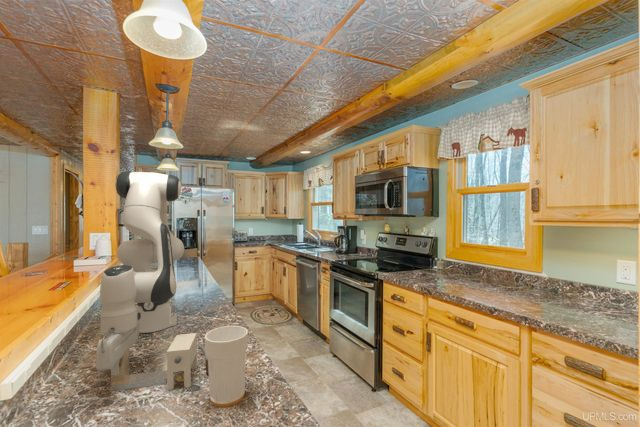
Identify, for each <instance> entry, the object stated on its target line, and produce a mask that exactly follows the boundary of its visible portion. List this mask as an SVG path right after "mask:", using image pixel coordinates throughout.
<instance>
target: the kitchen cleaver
mask: <svg viewBox="0 0 640 427" xmlns="http://www.w3.org/2000/svg"><path fill="white" fill-rule="evenodd" d="M198 349H200V350H201V351H202V353H203V352H204V353H203V355H204V360H205V375H206V376H207V377H209V371H208V356H207V355H206V353H205V343H201V344H199V345H198Z"/></svg>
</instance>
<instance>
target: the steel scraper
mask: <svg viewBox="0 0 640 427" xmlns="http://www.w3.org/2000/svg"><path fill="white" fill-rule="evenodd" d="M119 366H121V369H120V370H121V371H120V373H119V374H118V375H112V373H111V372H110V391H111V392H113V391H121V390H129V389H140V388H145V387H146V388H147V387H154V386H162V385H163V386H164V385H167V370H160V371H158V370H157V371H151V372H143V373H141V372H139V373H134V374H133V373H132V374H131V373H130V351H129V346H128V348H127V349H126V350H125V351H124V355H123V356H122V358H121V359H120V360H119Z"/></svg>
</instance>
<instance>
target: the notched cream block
mask: <svg viewBox="0 0 640 427" xmlns="http://www.w3.org/2000/svg"><path fill="white" fill-rule="evenodd" d="M197 368H198V332H193V333H192V332H191V333H183V334H182V333H181V334H177V335H176V336H175V337H174V339H173V341H172V342H171V344H170V345H169V347H168V348H167V350H166V371H167V384H166V387H167V388H166V390H167V391H171V390H174V389H175V373H176V372H183V373H184V381H183V388H184V389H186V388H187V389H188V388H191V385H192V373H191V370H197Z"/></svg>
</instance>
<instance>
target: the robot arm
mask: <svg viewBox="0 0 640 427" xmlns="http://www.w3.org/2000/svg"><path fill="white" fill-rule="evenodd" d="M114 187H115V190H116V194H117V195H118V196H119V197H120V198H123V199H125V200H124V205H123V212H122V223H123V226H124V227H125V229H126V230H127V231H128V232H130V233H131V234H133V235H135V236H137V237H139V238H136V239H130V240H126V241H123V242H121V243H120V244H119V246H117V250H116V256H117V259H118V261H119V262H120V263H121V265H115V266H111V267H108V268H106V269H105V270H104V271H103V272H102V275H101V279H100V288H99V300H100V301H99V302H100V304H101V311H100V320H99V322H100V333H102V334H103V335H102V338H101V339H100V340H99V341H98V343H97V346H96V354H95V368H96V370H97V371H106V370H110V374H111V373H112V375H118V374H119V373H120V371H121V370H120V369H121V366H119V360H120V359H121V358H122V356H123V355H124V351H125V350H126V349H127V348H128V346H129V352H130V350H131V348H132V347H133V346H134V345H135V343H137V341H138V339H139V335H140V333H141V334H142V333H143V334H144V333H147V334H149V333H154V332H159V331H162V330H165V329H167V328H170V327H171V328H172V327H174V326H177V325H178V312H177V313H176V312H173V304H172V303H171V302H170V301H169V300H171V299H172V298H173V297H174V296H175V294H176V292H177V280H176V274H175V269H174V261H178V260H180V259H181V258H182V257H183V256H184V252H185V246H184V242H183V241H182V240H181V239H179V237H177V236H175V235H174V234H173V233H172V232H171V230H170V228H169V223H168V222H169V221H168V203H169V202H174V201H176V200H178V199H179V197H180V195H181V192H182V183H181V181H180V179H179V177H178V176H176V175H173V174H165V173H160V172H153V171H150V172H147V171H131V170H126V171H121V172H120V173H119V174H118V175H117V177H116V179H115V186H114ZM153 264H157V270H156V269H154V268H152V267H151V265H153ZM136 305H137V306H136Z"/></svg>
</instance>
